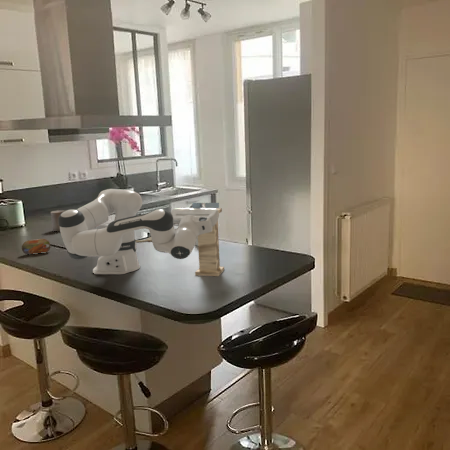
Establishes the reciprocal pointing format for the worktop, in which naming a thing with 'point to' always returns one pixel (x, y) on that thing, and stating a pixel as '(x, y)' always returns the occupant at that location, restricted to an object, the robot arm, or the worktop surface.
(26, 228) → the worktop surface
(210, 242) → the stand
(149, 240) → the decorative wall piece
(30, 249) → the tin
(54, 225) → the pillar candle
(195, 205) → the frame bar
